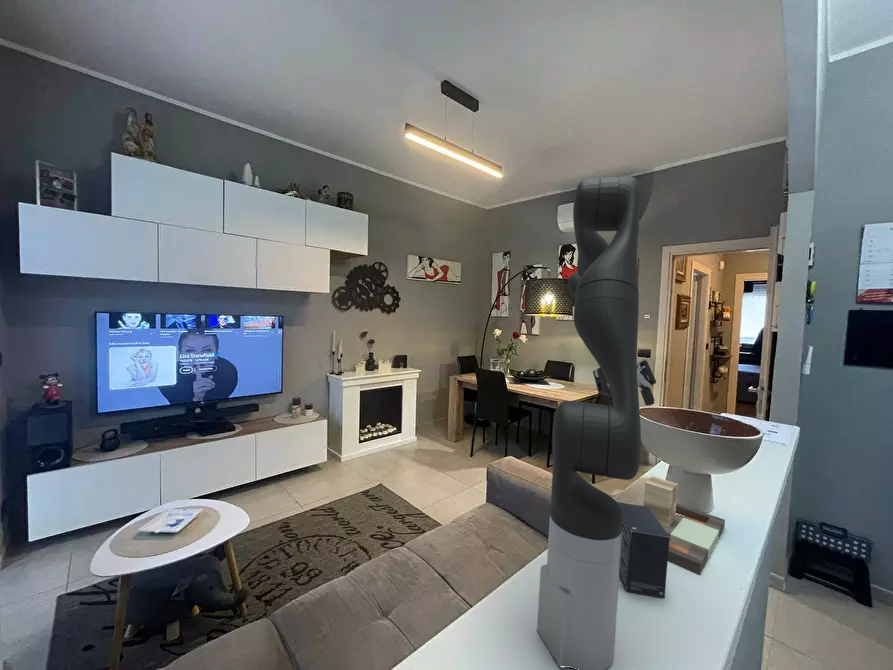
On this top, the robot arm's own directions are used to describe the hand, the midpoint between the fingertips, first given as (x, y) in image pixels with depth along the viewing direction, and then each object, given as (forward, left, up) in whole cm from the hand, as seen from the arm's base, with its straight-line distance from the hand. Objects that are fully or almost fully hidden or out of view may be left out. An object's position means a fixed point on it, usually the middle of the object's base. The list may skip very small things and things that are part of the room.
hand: (635, 408), depth 85 cm
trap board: (+5, -9, -25) cm, 27 cm away
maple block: (+3, -6, -23) cm, 24 cm away
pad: (+6, -12, -25) cm, 29 cm away
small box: (-14, -18, -26) cm, 34 cm away
